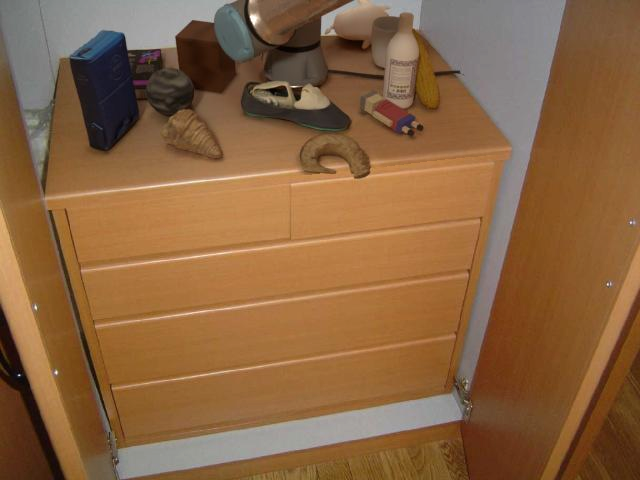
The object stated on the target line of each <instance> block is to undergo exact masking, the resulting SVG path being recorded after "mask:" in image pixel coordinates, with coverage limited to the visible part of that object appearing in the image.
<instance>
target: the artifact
mask: <svg viewBox="0 0 640 480" xmlns="http://www.w3.org/2000/svg"><path fill="white" fill-rule="evenodd" d="M323 156H334V157H338V158H341V159H342V160H344V161H345V162H346V163H347V165H348V167H349V172H350V174H351V175H353V179H354V180H361V179H364V178H366V177H368V176H369V175H370V174H371V167H372V166H371V164H370V159H369V156H368V154H367V153H366V151H365V150H364V149H362V148H361V147H360V144H359V143H358V142H357V141H356V140H354V139H352V138H351V137H349V136H348V135H345V134H344V133H343V134H342V133H336V132H335V133H334V132H326V133H321V134H318V135H315V136H313V137H311V138H309V139H308V140H307V141H306V142H305V143H304V144H303V145H302V147H301V148H300V151H299V160H300V163H301V165H302V166H303V170H304V171H305V172H307V173H317V174H327V175H336V174H337V170H335V169H333V168H329V167H326V166H323V165H322V164H321V163H319V158H320V157H323Z"/></svg>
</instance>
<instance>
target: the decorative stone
mask: <svg viewBox="0 0 640 480" xmlns="http://www.w3.org/2000/svg"><path fill="white" fill-rule="evenodd" d="M146 94H147V99H146V100H147V101H148V104H149V105H150V106H151V108H153V109H154V110H155V111H156V112H157V113H158V114H160V115H162V116H165V117H166V116H167V117H171V116H173V115H174V114H176V113H177V112H178V111H180V110H183V109H189V108H191V106H192V104H193V102H194V99H195V94H196V93H195V89H194V86H193V84H192V81H191V79H190V78H189V77H188V76H187V75H186V74H185V73H184V72H183V71H181V70H179V68H176V67H161V69H160V70H158V71H156V72H155V73H154V74H152V76H151V77H150V78H149V80H148V83H147V86H146ZM189 110H190V109H189Z"/></svg>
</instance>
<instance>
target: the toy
mask: <svg viewBox="0 0 640 480" xmlns="http://www.w3.org/2000/svg"><path fill="white" fill-rule="evenodd" d="M359 109H360V110H361V111H363V114H367V113H368V114H369V115H371V116H372V118H374V119H376V120H378V121H379V122H380V123H382V124H384V125H385V126H386V127H388V128H390V129H392V130H393V132H396V133H397V134H399V135H401V134H403V133H405V134H406V135H408V136H409V137H412V136H414V135H415V131H414V130H413V129H412V128H414V129H416V130H418V131H419V132H421V131H423V130H424V127H425V126H424V125H423V124H421V123H419V122H417V121H416V116H415V115H413V114H412V113H411V112H410V111H407V110H406V109H402V108H401V107H399V106H397V105H396V104H394V103H392V102H391V101H389V100H387V99H386V100H384V97H382V95H381V94H379V92H378V91H376V90H371V91H369V92H366V93H365V94H363V95H361V96H360V100H359Z"/></svg>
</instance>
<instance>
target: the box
mask: <svg viewBox="0 0 640 480" xmlns="http://www.w3.org/2000/svg"><path fill="white" fill-rule="evenodd" d="M127 50H128V57H129V62H130V67H131V72H132V77H133V83H134V88H135V93H136V98H137V100H148V99H147V94H146V86H147V83H148V80H149V78H150V77H151V76H152V74H154V73H155V72H156V71H158V70H160V69H162V65H163V57H162V49H161V48H152V49H127Z"/></svg>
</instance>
